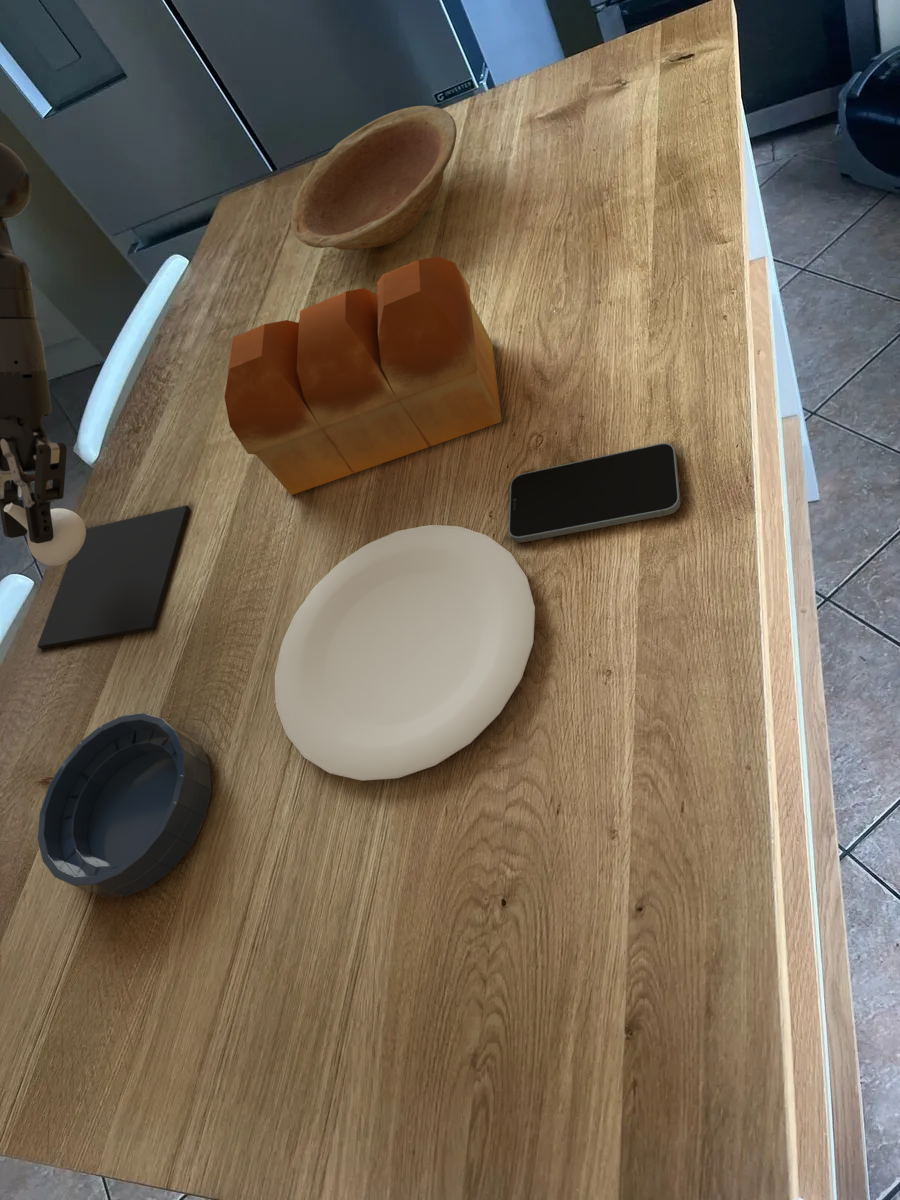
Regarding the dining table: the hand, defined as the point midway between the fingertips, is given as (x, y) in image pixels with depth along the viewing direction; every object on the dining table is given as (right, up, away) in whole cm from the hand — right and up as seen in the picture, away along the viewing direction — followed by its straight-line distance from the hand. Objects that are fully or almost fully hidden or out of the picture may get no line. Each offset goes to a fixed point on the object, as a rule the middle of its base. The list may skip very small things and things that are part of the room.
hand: (29, 538), depth 93 cm
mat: (+6, -4, +9) cm, 11 cm away
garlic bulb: (+2, -1, +4) cm, 5 cm away
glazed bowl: (+16, -26, -11) cm, 32 cm away
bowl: (+36, +43, +24) cm, 61 cm away
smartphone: (+56, +3, -13) cm, 58 cm away
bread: (+37, +13, +4) cm, 40 cm away
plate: (+40, -11, -13) cm, 43 cm away
